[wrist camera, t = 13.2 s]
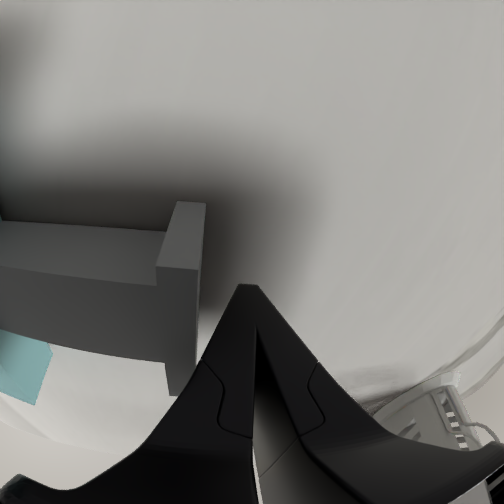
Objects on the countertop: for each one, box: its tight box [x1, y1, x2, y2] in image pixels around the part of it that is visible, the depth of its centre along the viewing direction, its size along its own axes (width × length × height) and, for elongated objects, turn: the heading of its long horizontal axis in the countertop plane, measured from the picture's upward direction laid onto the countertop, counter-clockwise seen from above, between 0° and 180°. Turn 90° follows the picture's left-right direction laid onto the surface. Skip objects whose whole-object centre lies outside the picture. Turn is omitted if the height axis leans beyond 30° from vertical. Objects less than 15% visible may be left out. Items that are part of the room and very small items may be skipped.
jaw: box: [0, 201, 206, 405], centre depth 7 cm, size 11×12×3 cm
